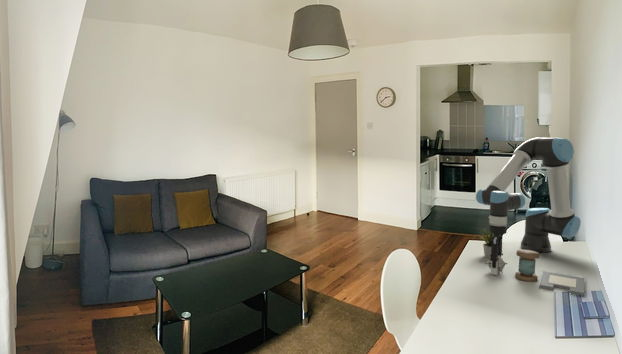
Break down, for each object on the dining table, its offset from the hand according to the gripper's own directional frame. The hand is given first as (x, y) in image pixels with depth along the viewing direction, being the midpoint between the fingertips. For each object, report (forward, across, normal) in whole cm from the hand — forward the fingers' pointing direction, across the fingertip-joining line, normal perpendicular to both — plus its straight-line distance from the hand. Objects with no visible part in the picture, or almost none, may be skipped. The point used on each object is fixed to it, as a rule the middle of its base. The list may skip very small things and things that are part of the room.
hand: (495, 271), depth 194 cm
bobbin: (+1, 0, +13) cm, 13 cm away
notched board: (+1, 0, +27) cm, 27 cm away
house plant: (+1, -24, -8) cm, 25 cm away
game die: (0, 0, 0) cm, 0 cm away
